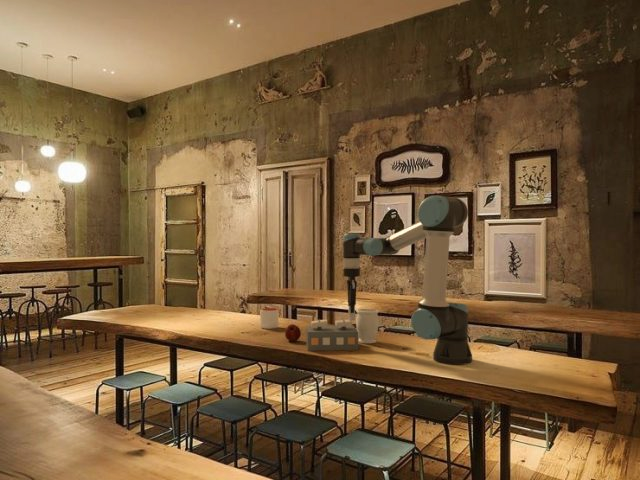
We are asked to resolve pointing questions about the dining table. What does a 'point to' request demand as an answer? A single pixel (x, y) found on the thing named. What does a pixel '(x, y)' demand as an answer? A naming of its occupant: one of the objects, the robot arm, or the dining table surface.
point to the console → (331, 338)
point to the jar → (367, 325)
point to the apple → (292, 333)
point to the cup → (269, 318)
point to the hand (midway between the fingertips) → (351, 319)
